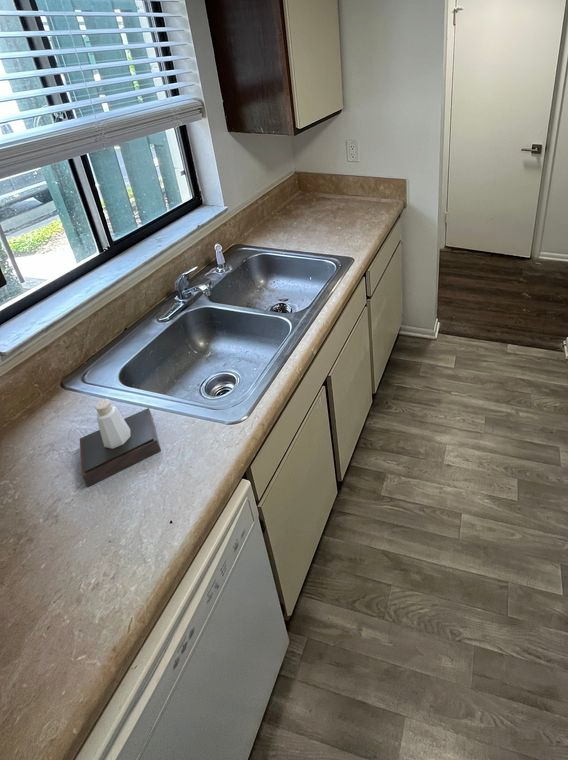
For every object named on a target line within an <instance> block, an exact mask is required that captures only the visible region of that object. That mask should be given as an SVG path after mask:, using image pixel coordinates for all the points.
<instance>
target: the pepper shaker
mask: <svg viewBox="0 0 568 760" xmlns="http://www.w3.org/2000/svg"><path fill="white" fill-rule="evenodd" d="M94 409H95V410H96V421H97V424H98V430H100V433H101V436H102V440H103V444H104V447H107V448H111V449H113V448H116V447H118V446H121V445H123V444H124V443H125V442H126V441H127V440H128V439H129V438H130V436H131V434H130V428H129V426H128V425H127V423H126V422H125V420H124V419H125V418H124V417H123V416H122V414H121V412H120V411H119V409H118V408H117V407H116V406H115V405H112V401H111V399H109V398H103V399H100V400H99V401H98V402H96V404H95V405H94Z"/></svg>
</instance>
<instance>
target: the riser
mask: <svg viewBox="0 0 568 760" xmlns="http://www.w3.org/2000/svg"><path fill="white" fill-rule="evenodd" d="M123 419H124V420H125V422H126V423H127V425H128V426H129V428H130V434H131V436H130V438H129V439H128V440H127V441H126V442H125V443H124V444H123V445H121V446H118V447H116V448H113V449H111V448H107V447H104V444H103V440H102V436H101V433H100V429H97V430H96V431H94V432H91V433H89V434H87V435H84V436H82V437H79V450H80V453H79V454H80V463H81V477H82V480H83V481H84V483H85V485H86V487H87V488H89V487H92V486H94V485H95V484H97V483H99V482H102V481H103V480H105V479H107V478H109V477H112V476H113V475H115V474H117V473H120V472H122V471H124V470H125V469H127V468H129V467H132V466H134V465H135V464H138V463H140V462H142V461H145V460H147V459H148V458H151V457H152V456H154V455H156V454H158V453H160V452H161V451H162V449H161V448H162V447H161V444H160V440H159V437H158V433H157V428H156V425H155V421H154V418H153V415H152V412H151V409H150V407H148V408H145V409H142V410H140V411H138V412H136V413H134V414H132V415H129V416H127V417H125V418H123Z"/></svg>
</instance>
